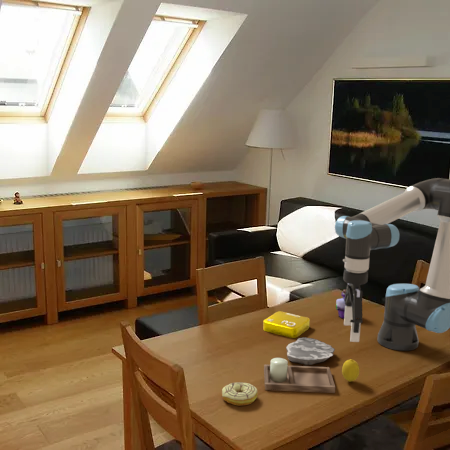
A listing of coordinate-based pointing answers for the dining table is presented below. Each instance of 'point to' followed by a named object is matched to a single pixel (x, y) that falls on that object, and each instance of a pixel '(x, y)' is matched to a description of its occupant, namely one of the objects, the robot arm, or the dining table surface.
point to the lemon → (350, 370)
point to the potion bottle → (341, 305)
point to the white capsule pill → (278, 370)
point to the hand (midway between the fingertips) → (351, 333)
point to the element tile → (286, 324)
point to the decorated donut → (239, 393)
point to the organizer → (302, 379)
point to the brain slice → (309, 351)
